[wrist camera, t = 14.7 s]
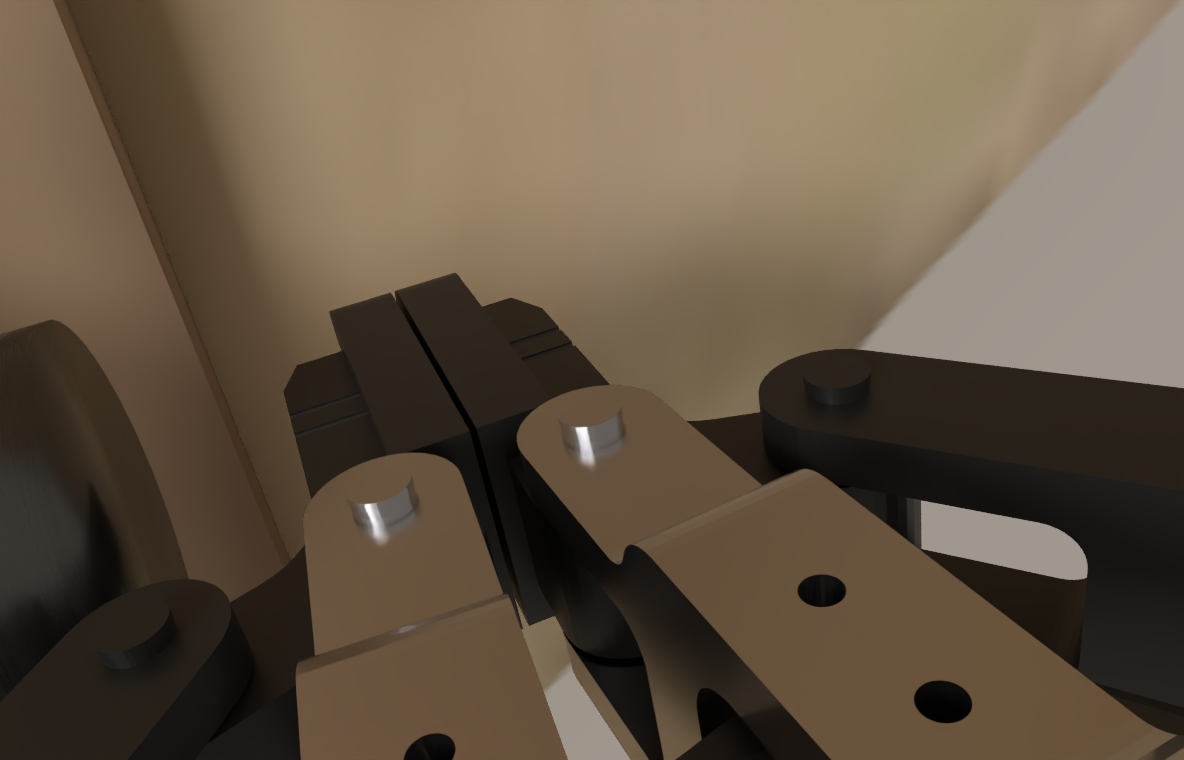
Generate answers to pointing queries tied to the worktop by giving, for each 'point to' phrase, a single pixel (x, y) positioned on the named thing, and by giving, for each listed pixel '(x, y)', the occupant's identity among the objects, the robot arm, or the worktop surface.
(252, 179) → the worktop surface
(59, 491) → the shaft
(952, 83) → the worktop surface
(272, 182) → the worktop surface
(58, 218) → the base board
